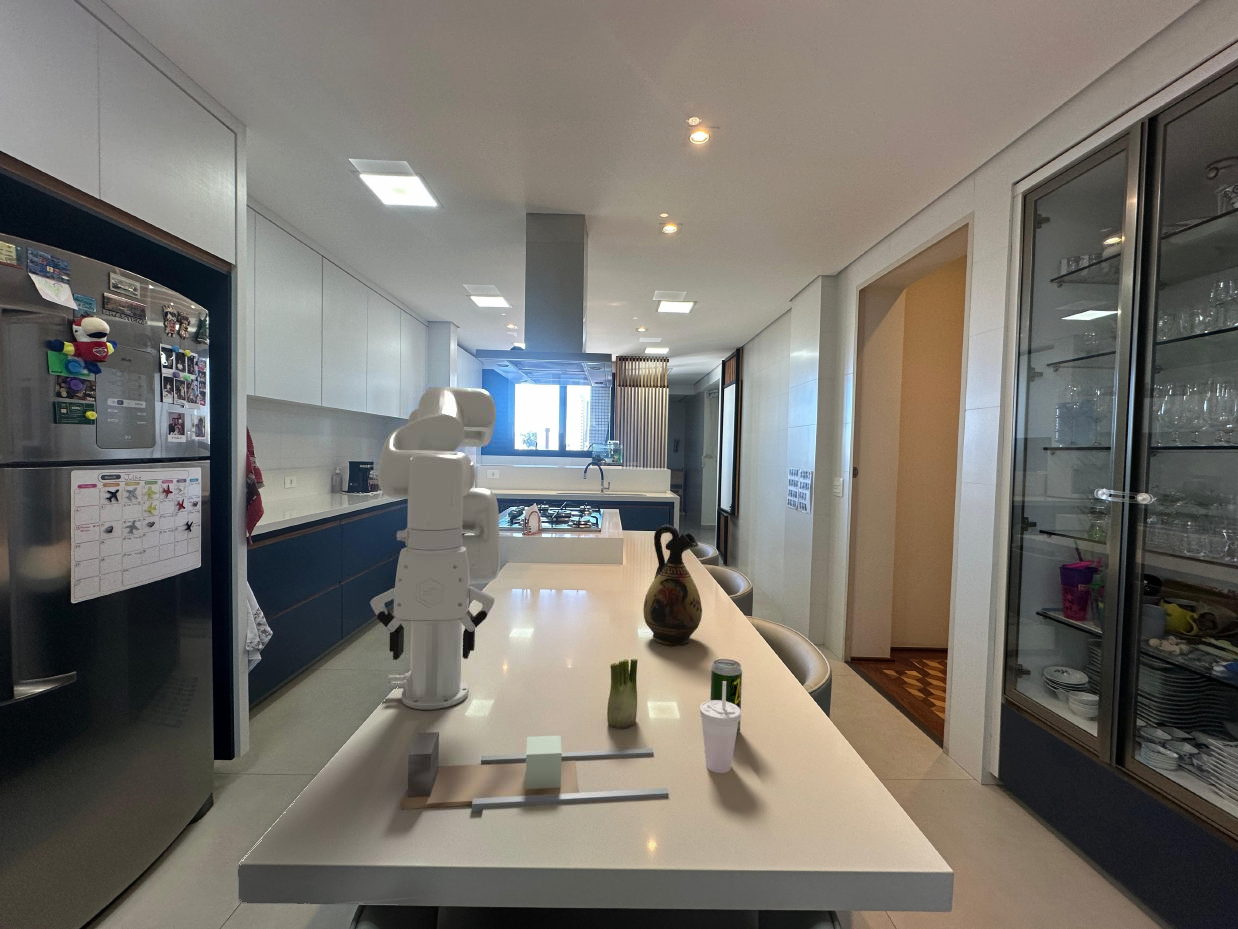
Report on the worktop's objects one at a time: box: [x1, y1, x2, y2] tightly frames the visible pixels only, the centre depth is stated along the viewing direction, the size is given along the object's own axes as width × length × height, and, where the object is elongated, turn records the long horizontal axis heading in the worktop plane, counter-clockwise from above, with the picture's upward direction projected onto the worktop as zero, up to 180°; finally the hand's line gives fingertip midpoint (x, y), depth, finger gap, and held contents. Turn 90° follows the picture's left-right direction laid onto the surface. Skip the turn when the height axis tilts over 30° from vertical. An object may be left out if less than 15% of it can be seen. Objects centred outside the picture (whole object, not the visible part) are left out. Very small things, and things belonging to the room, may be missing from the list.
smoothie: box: [698, 681, 742, 774], centre depth 87 cm, size 6×6×14 cm
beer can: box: [709, 658, 743, 736], centre depth 100 cm, size 5×5×12 cm
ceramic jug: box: [642, 524, 703, 647], centre depth 148 cm, size 17×15×30 cm
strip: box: [400, 731, 580, 810], centre depth 82 cm, size 24×9×7 cm, turn 98°
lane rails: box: [471, 747, 670, 813], centre depth 83 cm, size 27×12×1 cm, turn 98°
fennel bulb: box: [606, 658, 638, 730], centre depth 100 cm, size 6×5×12 cm
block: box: [525, 735, 563, 789], centre depth 83 cm, size 5×5×5 cm
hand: (432, 655), depth 82 cm, fingers open, 9 cm apart
